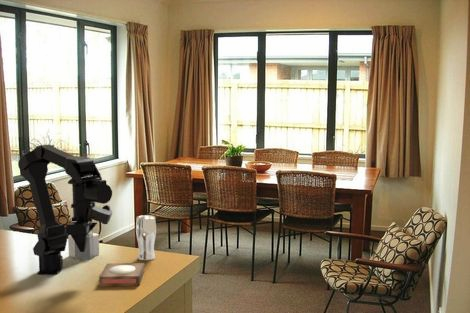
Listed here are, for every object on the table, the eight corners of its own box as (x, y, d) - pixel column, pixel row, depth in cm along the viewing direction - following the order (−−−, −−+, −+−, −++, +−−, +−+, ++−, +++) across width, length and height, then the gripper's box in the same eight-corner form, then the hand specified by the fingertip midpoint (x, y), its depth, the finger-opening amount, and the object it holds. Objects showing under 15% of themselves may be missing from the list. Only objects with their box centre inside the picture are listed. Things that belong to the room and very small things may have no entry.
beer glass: (152, 262, 173) (151, 220, 171) (133, 260, 174) (132, 219, 172) (159, 255, 180) (158, 215, 178) (141, 254, 181) (140, 214, 179)
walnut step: (99, 286, 150) (99, 276, 150) (107, 272, 162) (107, 263, 162) (139, 285, 151) (138, 276, 151) (144, 271, 163) (144, 262, 163)
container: (99, 254, 181) (98, 219, 179) (82, 260, 174) (81, 224, 173) (85, 250, 185) (84, 216, 183) (68, 256, 178) (67, 221, 177)
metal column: (75, 260, 150) (74, 234, 149) (79, 255, 154) (78, 230, 153) (90, 259, 150) (89, 234, 149) (93, 255, 155) (92, 230, 154)
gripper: (102, 206, 141) (104, 259, 143) (115, 193, 160) (116, 240, 162) (63, 206, 141) (65, 259, 143) (80, 193, 159) (81, 240, 161)
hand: (84, 249), depth 152 cm, fingers closed on metal column, 4 cm apart
